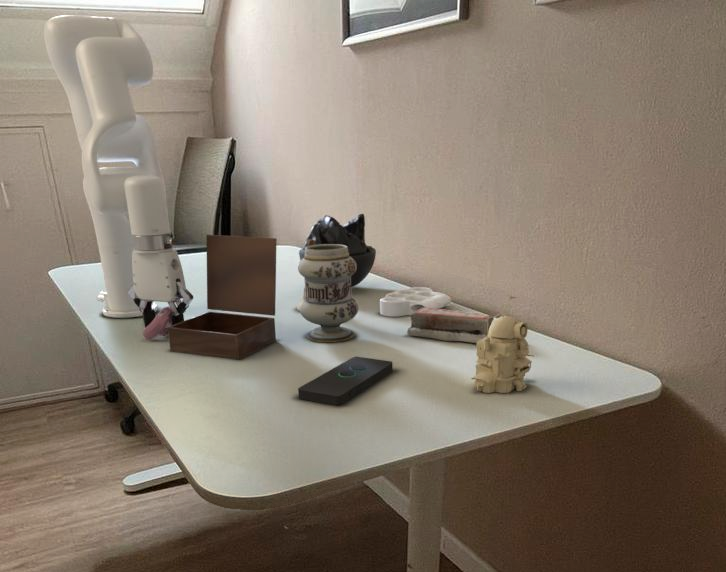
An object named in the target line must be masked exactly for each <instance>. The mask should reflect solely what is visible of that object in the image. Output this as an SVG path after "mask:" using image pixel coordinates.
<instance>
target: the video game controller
mask: <svg viewBox="0 0 726 572" xmlns="http://www.w3.org/2000/svg"><path fill="white" fill-rule="evenodd" d="M172 315H174V314H173V312H172V310H171V308H170V306H169V305H168V306H164V307H163V308H162V309H161V310H160V311H158V313H157V314H156V317H155V318H154V320H153V321H152V322H151V323H150V324H149V325H148V326H147V327H146V328H145V327H144V329H143V331H142V336H143V338H144V339H145V340H153V339H154V338H156V337H158V336H159V335H161V337H164V338H166V337H167V336H168V329H167V327H170V326H172V319H171V316H172Z"/></svg>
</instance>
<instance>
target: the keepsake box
mask: <svg viewBox="0 0 726 572" xmlns="http://www.w3.org/2000/svg"><path fill="white" fill-rule="evenodd" d="M275 321H276V320H275V317H272V316H270V317H269V316H259V315H251V314H250V315H249V314H240V313H231V312H229V313H228V312H222V311H221V312H220V311H211V310H209V311H208V310H207V311H206V312H204V313H201V314H198V315H196V316H193V317H190V318H188V319H184V321H183V322H180V323H178V324H175V325H172V326H170V327H167V329H168V334H167V336H168V343H169V349H170V352H176V353H184V354H192V355H201V356H207V357H216V358H224V359H232V360H242V359H243V358H246V357H247V356H249V355H251V354H253V353H255V352H257V351H259V350H260V349H262V348H264V347H267V346H268V345H270V344H272V343H274V342H276V341H277V335H276V322H275Z"/></svg>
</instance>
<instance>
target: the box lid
mask: <svg viewBox="0 0 726 572" xmlns="http://www.w3.org/2000/svg"><path fill="white" fill-rule="evenodd" d="M205 241H206V308H207V310H210V311H221V312H230V313H231V312H232V313H243V314H250V315H251V314H252V315H262V316H271V317H272V316H276V299H277V298H276V294H277V293H276V292H277V291H276V290H277V244H278V243H277V238H273V237H255V236H238V235H220V234H219V235H218V234H206V240H205Z"/></svg>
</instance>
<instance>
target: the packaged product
mask: <svg viewBox="0 0 726 572" xmlns="http://www.w3.org/2000/svg"><path fill="white" fill-rule="evenodd" d="M488 315H489V318H488ZM491 317H493V318H491ZM410 319H411V322H410V323H411V324H410V327H407V331H406V335H407V336H411V337H412V336H413V337H421V338H428V339H435V340H440V341H446V342H464V343H473V344H477V342H478V341H479V340H482V339H484V338H485V337H487V324H488V332H489V328H490V326H491V324H492V323H493V322H494V320H495V317H494V316H493V315H491V314H484V313H483V314H482V313H476V312H469V311H460V310H450V309H445V308H444V309H443V308H440V309H435V308H423V307H422V308H420V309H419V310H417V311H415V312H414V313H413V314H412V315H410Z"/></svg>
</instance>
